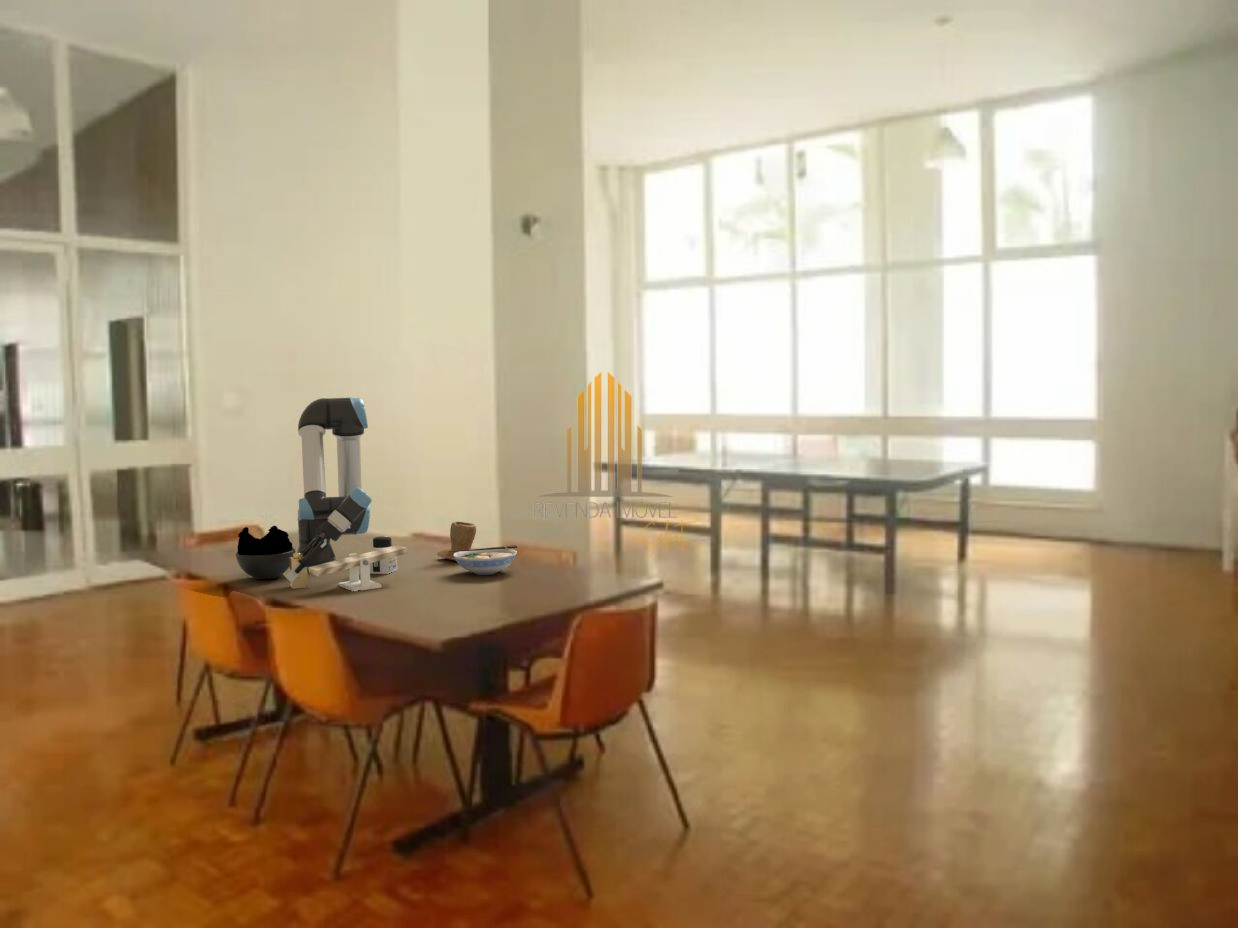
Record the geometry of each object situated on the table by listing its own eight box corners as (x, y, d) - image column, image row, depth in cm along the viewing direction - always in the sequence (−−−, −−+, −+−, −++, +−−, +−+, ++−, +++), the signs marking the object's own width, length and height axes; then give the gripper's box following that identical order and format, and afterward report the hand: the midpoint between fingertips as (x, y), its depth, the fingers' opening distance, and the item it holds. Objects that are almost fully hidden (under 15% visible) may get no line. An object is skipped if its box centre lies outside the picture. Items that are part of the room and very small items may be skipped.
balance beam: (317, 576, 325) (316, 570, 325) (309, 573, 331) (308, 567, 331) (407, 553, 343) (406, 547, 343) (398, 550, 350) (397, 545, 350)
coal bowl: (308, 575, 360) (306, 523, 359) (268, 586, 342) (265, 531, 340) (266, 572, 368) (263, 521, 367) (224, 582, 350) (221, 529, 349)
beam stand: (353, 591, 330) (351, 560, 329) (338, 585, 340) (337, 555, 339) (381, 587, 336) (380, 556, 335) (366, 581, 346) (365, 551, 345)
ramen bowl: (454, 581, 343) (453, 558, 343) (447, 570, 365) (446, 548, 365) (526, 576, 350) (525, 553, 349) (515, 565, 372) (514, 543, 371)
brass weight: (290, 586, 341) (288, 553, 340) (305, 584, 343) (304, 551, 342) (292, 588, 336) (291, 555, 336) (307, 587, 339) (306, 553, 338)
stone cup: (482, 560, 385) (481, 521, 383) (455, 564, 377) (454, 525, 376) (462, 555, 396) (461, 518, 395) (436, 559, 389) (434, 521, 388)
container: (388, 574, 360) (387, 538, 358) (368, 573, 361) (367, 538, 360) (397, 570, 367) (396, 535, 366) (378, 569, 369) (376, 535, 368)
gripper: (348, 536, 337) (299, 589, 331) (337, 530, 353) (291, 580, 347) (331, 522, 334) (282, 575, 328) (321, 516, 350) (275, 567, 344)
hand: (287, 578), depth 338 cm, fingers closed on brass weight, 5 cm apart
